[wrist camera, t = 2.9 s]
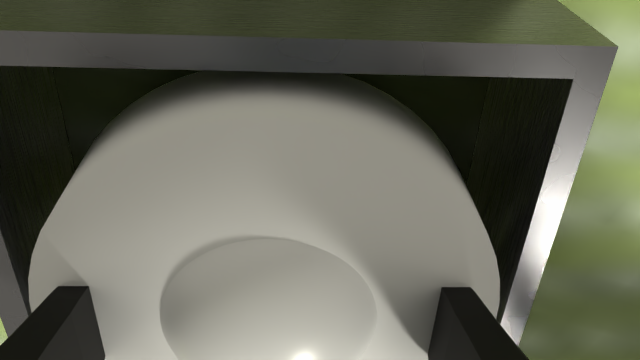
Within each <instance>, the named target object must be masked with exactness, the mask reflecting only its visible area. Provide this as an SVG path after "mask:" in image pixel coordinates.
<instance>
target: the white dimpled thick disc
mask: <svg viewBox="0 0 640 360" xmlns="http://www.w3.org/2000/svg"><path fill="white" fill-rule="evenodd" d="M28 285H29V303H30V307H31V312H33V311H34V310H35V309H36V308H37V307H38V306H39V305H40V304H41V303H42V302H43V301H44V300H45V298H46V297H47V296H48V295H49V294H50V293H51V292H52V291H53V290H54V289H55V288H56V287H58V286H89V288H90V293H91V297H92V301H93V305H94V309H95V314H96V318H97V322H98V326H99V330H100V335H101V339H102V343H103V347H104V351H105V360H428V350H429V345H430V341H431V336H432V331H433V326H434V322H435V317H436V312H437V307H438V303H439V298H440V293H441V288H442V287H471V288H472V289H473V290H474V291H475V292H476V294H477V295H478V296H479V298H480V299H481V300H482V302H483V303H484V304H485V305H486V307H487V308H488V309H489V311H490V312H491V313H492V315H493V316H494V317H495V318H496V317H497V312H498V307H499V302H500V277H499V271H498V265H497V259H496V255H495V253H494V250H493V247H492V244H491V242H490V239H489V236H488V233H487V231H486V229H485V227H484V225H483V222H482V220H481V218H480V216H479V213H478V211H477V209H476V207H475V205H474V202H473V200H472V198H471V196H470V193H469V191H468V189H467V187H466V184H465V182H464V180H463V178H462V176H461V173H460V171H459V169H458V167H457V165H456V163H455V162H454V160H453V158H452V156H451V155H450V153H449V151H448V149H447V148H446V146H445V145H444V144H443V143H442V141H441V140H440V139H439V138H438V136H437V135H436V134H435V133H434V131H433V130H432V129H431V128H430V127H429V126H428V125H427V124H426V123H425V122H424V121H423V120H422V119H421V118H419V117H418V116H417V115H416V114H415V113H414V112H413V111H412V110H411V109H409V108H408V107H406V106H405V105H403V104H402V103H400V102H399V101H397V100H396V99H395V98H393V97H392V96H390V95H389V94H387V93H385V92H383V91H381V90H379V89H377V88H375V87H373V86H371V85H369V84H367V83H365V82H363V81H360V80H357V79H354V78H352V77H349V76H346V75H343V74H340V73H300V72H257V71H214V70H203V71H200V72H196V73H193V74H190V75H186V76H183V77H180V78H178V79H175V80H173V81H171V82H169V83H167V84H164V85H162V86H160V87H158V88H156V89H153V90H152V91H150V92H149V93H147V94H145V95H144V96H142V97H141V98H139V99H138V100H136V101H134V102H133V103H131V104H130V105H129V106H127V107H126V108H125V109H124V110H123V111H122V112H120V113H119V114H118V115H117V116H116V117H115V118H114V119H112V120H111V121H110V122H109V123H108V124H107V125H106V127H105V128H104V129H103V130H102V131H101V133H100V134H99V135H98V136H97V137H96V139H95V140H94V141H93V142H92V144H91V146H90V147H89V149H88V151H87V153H86V154H85V156H84V158H83V159H82V161H81V163H80V164H79V166H78V168H77V169H76V171H75V173H74V175H73V176H72V178H71V180H70V181H69V183H68V185H67V186H66V188H65V190H64V192H63V193H62V195H61V197H60V198H59V200H58V202H57V204H56V205H55V207H54V209H53V210H52V212H51V214H50V215H49V217H48V219H47V221H46V222H45V224H44V226H43V227H42V229H41V231H40V233H39V236H38V239H37V242H36V244H35V247H34V250H33V253H32V257H31V263H30V270H29V276H28Z"/></svg>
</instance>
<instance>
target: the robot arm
mask: <svg viewBox="0 0 640 360" xmlns="http://www.w3.org/2000/svg"><path fill="white" fill-rule="evenodd" d="M0 360H105V351H104V347H103V343H102V339H101V335H100V330H99V326H98V322H97V318H96V314H95V309H94V305H93V301H92V297H91V293H90V288H89V286H58V287H56V288H55V289H54V290H53V291H52V292H51V293H50V294H49V295H48V296H47V297H46V298H45V300H44V301H43V302H42V303H41V304H40V305H39V306H38V307H37V308H36V309H35V310H34V311H33V312H32V313H31V314H30V315H29V316H28V318H27V319H26V320H25V321H24V322H23V323H22V324H21V325H20V326H19V327H18V328H17V329H16V330H15V331H14V332H13V333H12V334H11V335H10V336H9V337H8V338H7V339H6V340H5V341H4V342H3V343H2V344H1V345H0ZM428 360H529V359H528V358H527V357H526V355H525V354H524V353H523V352H522V351H521V350H520V348H519V347H518V346H517V345H516V343H515V342H514V341H513V340H512V339H511V337H510V336H509V335H508V334H507V332H506V331H505V330H504V329H503V327H502V326H501V325H500V324H499V322H498V321H497V320H496V318H495V317H494V316H493V315H492V313H491V312H490V311H489V309H488V308H487V307H486V305H485V304H484V303H483V302H482V300H481V299H480V298H479V296H478V295H477V294H476V292H475V291H474V290H473V289H472V288H471V287H442V288H441V293H440V298H439V303H438V307H437V312H436V317H435V322H434V326H433V331H432V336H431V341H430V345H429V350H428Z"/></svg>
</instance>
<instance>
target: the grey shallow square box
mask: <svg viewBox="0 0 640 360" xmlns="http://www.w3.org/2000/svg"><path fill="white" fill-rule="evenodd" d="M617 49H618V46H617V45H615V44H614V43H613V42H611V41H610V40H609V39H608V38H606V37H605V36H604V35H602V34H601V33H600V32H598V31H597V30H596V29H594V28H593V27H592V26H590V25H589V24H588V23H586V22H585V21H584V20H582V19H581V18H580V17H578V16H577V15H576V14H574V13H573V12H572V11H570V10H569V9H568V8H567V7H565V6H564V5H563V4H561V3H560V2H559V1H557V0H0V317H1V320H2V322H3V325H4V328H5V330H6V333H7V336H8V337H9V336H10V335H11V334H12V333H13V332H14V331H15V330H16V329H17V328H18V327H19V326H20V325H21V324H22V323H23V322H24V321H25V320H26V319H27V318H28V316H29V315H30V314H31V313H32V312H31V307H30V303H29V285H28V276H29V270H30V263H31V257H32V253H33V250H34V247H35V244H36V242H37V239H38V236H39V233H40V231H41V229H42V227H43V226H44V224H45V222H46V221H47V219H48V217H49V215H50V214H51V212H52V210H53V209H54V207H55V205H56V204H57V202H58V200H59V198H60V197H61V195H62V193H63V192H64V190H65V188H66V186H67V185H68V183H69V181H70V180H71V178H72V176H73V175H74V173H75V169H74V164H73V160H72V155H71V151H70V146H69V142H68V137H67V133H66V128H65V124H64V119H63V115H62V110H61V106H60V101H59V97H58V92H57V88H56V83H55V79H54V74H53V70H52V67H84V68H127V69H170V70H214V71H257V72H300V73H343V74H386V75H430V76H473V77H490V79H489V83H488V88H487V93H486V97H485V102H484V107H483V111H482V116H481V121H480V125H479V130H478V135H477V139H476V144H475V149H474V153H473V158H472V163H471V167H470V172H469V177H468V181H467V186H466V187H467V189H468V191H469V193H470V196H471V198H472V200H473V202H474V205H475V207H476V209H477V211H478V213H479V216H480V218H481V220H482V222H483V225H484V227H485V229H486V231H487V233H488V236H489V239H490V242H491V244H492V247H493V250H494V253H495V255H496V259H497V265H498V271H499V277H500V302H499V307H498V312H497V317H496V320H497V321H498V322H499V324H500V325H501V326H502V327H503V329H504V330H505V331H506V332H507V334H508V335H509V336H510V337H511V339H512V340H513V341H514V342H515V343H516V345H517V346H519V343H520V340H521V337H522V334H523V331H524V328H525V325H526V322H527V319H528V316H529V313H530V310H531V307H532V304H533V301H534V298H535V295H536V292H537V289H538V286H539V283H540V280H541V277H542V274H543V271H544V268H545V265H546V262H547V259H548V256H549V253H550V250H551V247H552V244H553V241H554V238H555V235H556V232H557V229H558V226H559V223H560V220H561V217H562V214H563V211H564V208H565V205H566V202H567V199H568V196H569V193H570V190H571V187H572V184H573V181H574V178H575V175H576V172H577V169H578V166H579V163H580V160H581V157H582V154H583V151H584V148H585V145H586V142H587V139H588V136H589V133H590V130H591V127H592V124H593V121H594V118H595V115H596V112H597V109H598V106H599V103H600V100H601V97H602V94H603V91H604V88H605V85H606V82H607V79H608V76H609V73H610V70H611V67H612V64H613V61H614V58H615V55H616V52H617Z"/></svg>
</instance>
